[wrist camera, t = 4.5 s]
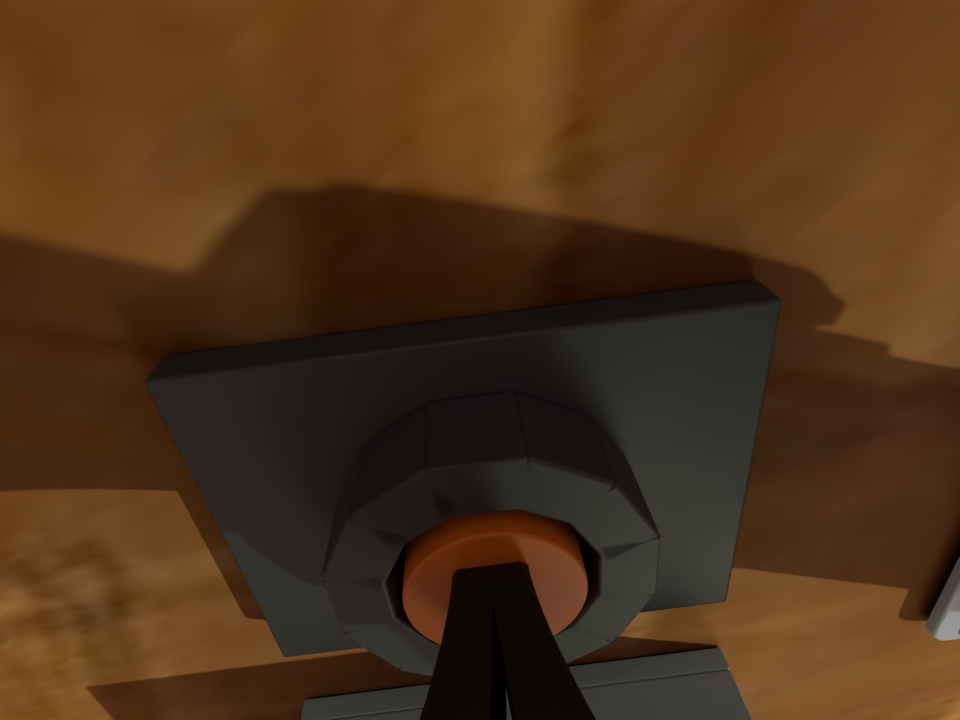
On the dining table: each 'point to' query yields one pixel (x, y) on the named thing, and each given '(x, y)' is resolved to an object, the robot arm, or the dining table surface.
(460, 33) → the dining table surface
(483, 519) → the button
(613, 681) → the box
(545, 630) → the robot arm
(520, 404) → the release block
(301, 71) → the dining table surface
